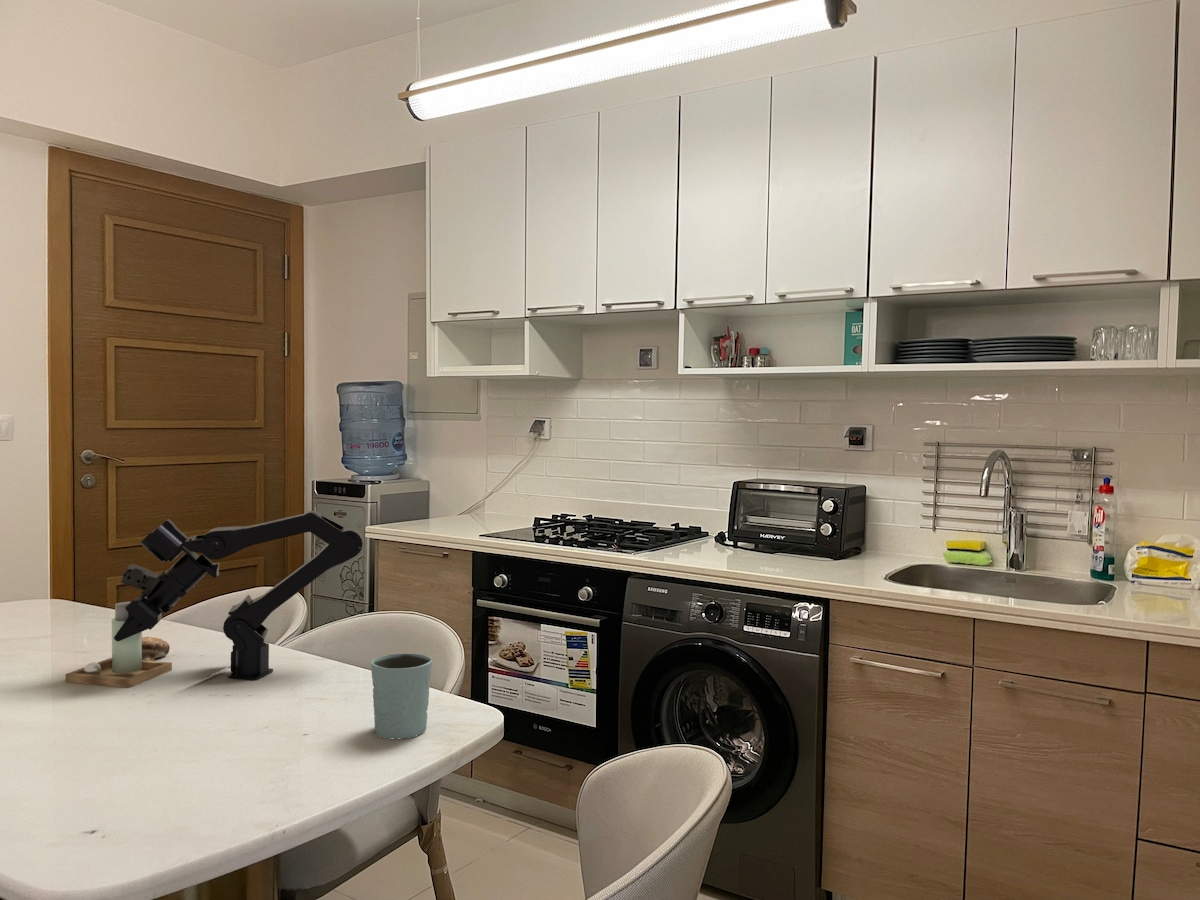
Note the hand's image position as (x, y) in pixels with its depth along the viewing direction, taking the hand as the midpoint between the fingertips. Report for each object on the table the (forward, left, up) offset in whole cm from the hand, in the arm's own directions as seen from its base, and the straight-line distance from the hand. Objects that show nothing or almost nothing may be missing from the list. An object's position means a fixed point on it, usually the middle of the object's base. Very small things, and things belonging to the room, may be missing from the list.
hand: (119, 636), depth 175 cm
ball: (+4, +2, -8) cm, 9 cm away
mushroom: (+3, -13, -9) cm, 16 cm away
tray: (0, -1, -9) cm, 9 cm away
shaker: (-1, -1, -7) cm, 7 cm away
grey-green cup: (-64, +11, -9) cm, 65 cm away
